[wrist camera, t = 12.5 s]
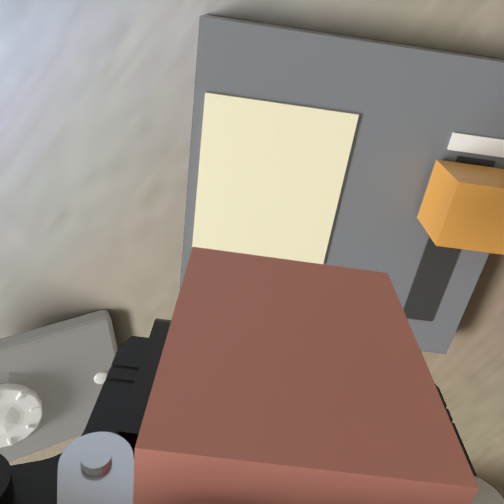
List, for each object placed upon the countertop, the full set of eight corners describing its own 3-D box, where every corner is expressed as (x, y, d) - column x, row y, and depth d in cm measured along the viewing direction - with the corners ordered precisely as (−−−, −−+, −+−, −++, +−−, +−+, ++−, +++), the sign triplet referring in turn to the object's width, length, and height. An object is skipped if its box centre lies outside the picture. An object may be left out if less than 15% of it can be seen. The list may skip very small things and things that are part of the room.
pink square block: (342, 411, 15) (394, 701, 9) (179, 391, 14) (118, 675, 8) (387, 273, 12) (502, 544, 6) (192, 246, 12) (119, 501, 6)
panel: (435, 332, 30) (447, 356, 28) (182, 301, 29) (176, 322, 28) (543, 65, 22) (569, 72, 21) (205, 14, 22) (199, 16, 20)
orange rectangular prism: (495, 227, 24) (523, 257, 21) (416, 217, 24) (435, 245, 21) (519, 171, 22) (552, 195, 20) (436, 159, 22) (459, 182, 20)
